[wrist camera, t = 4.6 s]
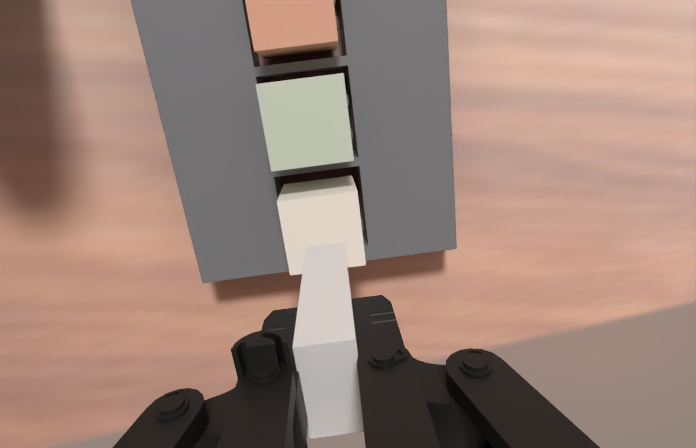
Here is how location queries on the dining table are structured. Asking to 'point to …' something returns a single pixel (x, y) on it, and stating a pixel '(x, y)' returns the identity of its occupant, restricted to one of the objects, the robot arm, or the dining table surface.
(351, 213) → the cream cube
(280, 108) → the tile two bar
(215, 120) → the tile board
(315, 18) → the orange cube
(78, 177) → the dining table surface
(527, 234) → the dining table surface
